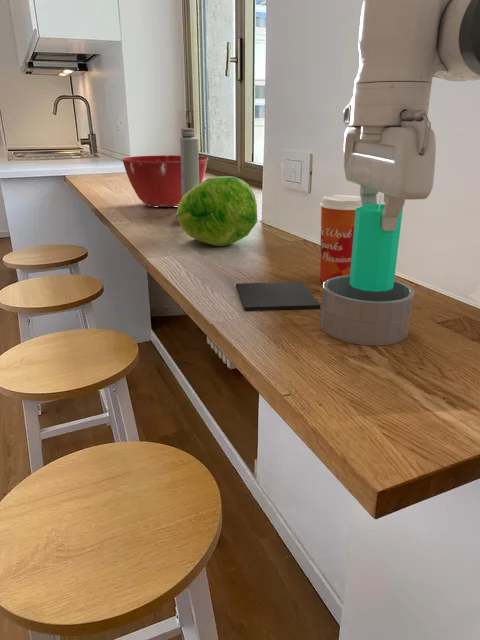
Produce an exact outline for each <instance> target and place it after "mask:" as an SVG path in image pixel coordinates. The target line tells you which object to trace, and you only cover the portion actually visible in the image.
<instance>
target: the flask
mask: <svg viewBox="0 0 480 640" xmlns="http://www.w3.org/2000/svg"><path fill="white" fill-rule="evenodd" d="M179 131H180V137H179V147H180V149H179V152H180V154H179V155H181V188H182V198H183V196H184V195H185V194H186V193H187V192H188V191H190V190H191V189H192V188H194V187H195V186H197V185H198V184H199V156H200V155H199V154H200V153H199V152H200V151H199V147H200V146H199V138H197V137H196V136H195V128H192V127H183V128H180V129H179Z"/></svg>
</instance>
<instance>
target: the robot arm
mask: <svg viewBox="0 0 480 640" xmlns="http://www.w3.org/2000/svg"><path fill="white" fill-rule="evenodd" d="M358 26H359V27H358V35H357V47H358V53H359V65H358V71H357V72H356V73H357V74H356V76H355V79H354V87H353V95H352V97H351V100H350V102H349V103H348V104H347V105H346V106H345V108H344V109H343V112H342V126H344V127H346V129H345V132H344V140H343V141H344V142H343V173H344V177H345V180H346V181H348V182H349V183H353V184H357V185H359V187H360V188H359V195H360V196H359V197H361V202H362V206H363V205H367V204H378V199H377V197H378V196H377V195H378V194H379V193H382V194H383V195H384V196H383V203H384V205H385V206H384V210H383V213H382V215H381V220H380V228H381V229H382V230H384V231H393V230H395V229H396V227H397V219H398V216H399V214H400V212H401V210H402V209H404V206H405V202H406V201H407V200H409V201H410V200H411V201H412V200H414V201H415V200H426V199H428V198H429V196H430V194H431V193H432V191H433V186H434V181H435V180H434V179H435V169H436V168H435V167H436V152H437V140H436V134H435V132H434V130H433V129H432V122H431V121H430V120H429V117H428V115H429V108H430V99H431V92H432V85H433V84H432V83H433V78H438V79H441V80H442V79H443V80H446V81H449V82H458V83H459V82H460V83H461V82H467V81H470V82H471V81H472V82H473V81H480V0H362V3H361V11H360V18H359V25H358ZM369 209H371V208H369Z"/></svg>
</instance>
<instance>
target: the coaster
mask: <svg viewBox="0 0 480 640" xmlns="http://www.w3.org/2000/svg"><path fill="white" fill-rule="evenodd" d="M235 288H236V291H237V294H238V296H239V299H240V302H241V305H242V307H243V309H244V311H245V312H248V311H250V312H251V311H252V312H254V311H282V310H283V311H287V310H311V309H312V310H313V309H314V310H318V309H320V310H321V306H322V304H321V303H320V302H319V301H318V300H317V299H316V297H315V296H314V295H313V293H312V292H311V291H310V289H309V288H308V287H307V286H306V284H305V283H304V282H303V281H285V282H283V281H282V282H281V281H280V282H244V283H243V282H241V283H235Z"/></svg>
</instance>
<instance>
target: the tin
mask: <svg viewBox="0 0 480 640" xmlns="http://www.w3.org/2000/svg"><path fill="white" fill-rule="evenodd" d="M349 282H350V275H344V276H337V277H333V278H330V279H328V280H326V281H325V282H324V283H323V284H322V295H321V296H322V297H321V308H320V320H319V325H320V328H321V330H322V332H324V333H325V334H327V335H328V336H330V337H331V338H334V339H337V340H339V341H342V342H345V343H349V344H354V345H360V346H371V347H372V346H373V347H374V346H375V347H376V346H377V347H379V346H388V345H394V344H397V343H400V342H402V341H404V340H405V339H406V338H407V337H408V335H409V332H410V326H411V321H412V313H413V308H414V301H415V295H416V292H415V289H414V288H412V287H411V286H410V285H408V284H406V283H405V282H402V281H399V280H397V279H394V285H393V289H390V290H387V291H378V292H373V291H364V290H360V289H357V288H354V287H352V286H351V285H350V284H349Z"/></svg>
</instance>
